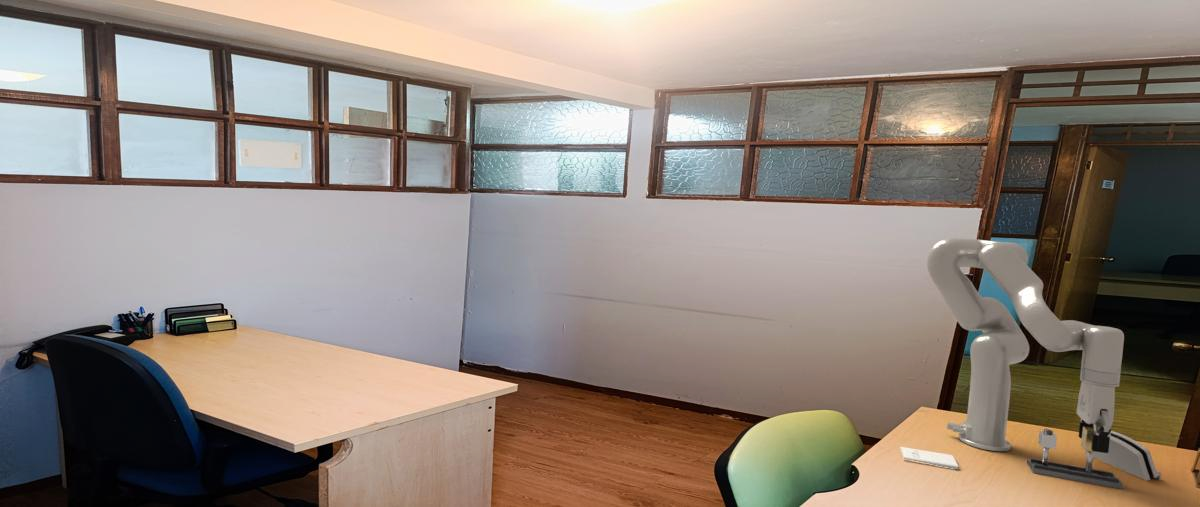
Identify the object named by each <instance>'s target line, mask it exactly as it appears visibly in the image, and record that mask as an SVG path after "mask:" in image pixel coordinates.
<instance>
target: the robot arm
mask: <svg viewBox="0 0 1200 507" xmlns="http://www.w3.org/2000/svg"><path fill="white" fill-rule="evenodd" d="M926 260H927V261H926V267H927V270H928V273H929V276H930V279H931V280H932V282H933V283H934V285H935V286H936V288H937V289H938V291H939V292H940V294H941V295H942V297H943V299H944V301H945V302H946V304H947V306H948V309H950V311H951V313H952V314H953V317H954V318H955V319H956V321H957V323H958V325H960V327H961V328H962V329H964V330H966V331H969V332H976V331H977V332H979V331H980V332H982V333H981V334H979V335H978V336H976V337H975V338H974V339H973V341H972V343H971V344H970V350H969V351H970V352H969V353H970V366H971V367H970V368H971V369H970V384H969V396H968V405H967V414H966V415H967V416H966V420H964V421H963V423H962V422H961V423H958V424H957V423H954V422H949V421H948V422H947V423H946V430H949V431H950V430H952V432H954V433H958V439H959V440H960V441H961V442H962V443H964V444H967V445H969V446H972V447H975V448H977V449H982V450H987V451H993V452H1008V451H1010V450H1012V444H1011V442H1010V441H1008V440H1007V439H1006V436H1007V426H1008V416H1009V407H1010V398H1011V387H1012V379H1011V371H1010V365H1015V364H1018V363H1021V362H1023V361H1024V360H1026V359H1027V358H1028V356H1029V353H1030V344H1029V342H1028V339H1027V338H1026V336H1025V334H1024V333H1023V331H1022V329H1021V328H1020V326H1019V324H1018V323H1017V322H1016V320H1015V319H1014V317H1013V315H1012V314H1011V312H1010V310H1008V308H1007V307H1006V305H1005V304H1003V303H1002V302H1001V301H1000V300H998V299H996V298H993V297H990V296H989V297H988V296H982V295H980V293H979V292H978V290H977V289H976V287H975V285H974V284H973V282H972V281H971V279H970V278H969V277H968V276H967V275H966V274H964V272H963V270H961V268H975V269H976V268H977V269H984V270H985V271H986V272H987V273H988V274H989V276H990V277H991V278H992V279H993V281H995V282H996V283H997V285H998V287H1000V288H1001V289H1002V290H1003V291H1004V293H1005V294H1006V295H1007V296H1008V297H1009V299H1010V300H1011V302H1012V305H1013V308H1014V311H1015V312H1016V314H1017V317H1018V320H1019V321H1020V323H1021V324H1022V325H1023V326H1024V328H1025V330H1027V331H1028V332H1029V333H1030V335H1031V336H1032V338H1034V339H1035V340H1036V341H1037V342H1038V343H1039V345H1041V346H1042V347H1043V348H1045V349H1046V350H1048V351H1051V352H1053V353H1054V352H1055V353H1061V352H1069V351H1082V357H1081V363H1080V364H1081V365H1080V366H1081V367H1080V375H1079V380H1080V381H1081V383H1080V387H1079V388H1080V389H1079V393H1078V398H1077V399H1078V400H1077V406H1076V415H1077V416H1078V417H1079V421H1080V422H1079V427H1078V437H1079V439H1082V432H1083V426H1084V427H1091V428H1094V432H1095V434H1093V436H1092V446H1091V449H1092V451H1095V452H1102V453H1108V452H1109V442H1110V432H1111V431H1112V429H1111V428H1112V426H1113V424H1114V414H1115V404H1116V403H1115V401H1116V400H1115V399H1116V392H1115V391H1116V388H1117V387H1120V381H1121V372H1122V371H1121V370H1122V360H1123V351H1124V342H1125V335H1124V332H1123V331H1122V330H1121V329H1119V328H1115V327H1111V326H1105V325H1104V326H1103V325H1094V324H1090V323H1086V322H1083V321H1078V320H1073V319H1071V320H1070V319H1069V320H1060V319H1059V318H1058V317H1057V316H1056V315H1055V314H1054V312H1052V311H1051V309H1050V307H1049V306H1048V305H1047V304H1046V302H1045V300H1044V298H1043V289H1044V283H1043V280H1042V279H1041V278H1040V277H1039V276H1038V275H1037V274H1036V273H1035V272H1034V271H1033V270H1032V269H1031V267H1030V266H1028V265H1027V264H1028V261H1029V256H1028V252H1027V250H1026V249H1025V248H1024V247H1023V246H1021V245H1020V244H1018V243H1016V242H1005V241H997V240H987V239H986V240H985V239H978V238H977V239H975V238H958V237H957V238H956V237H955V238H954V237H953V238H951V237H949V238H944V239H942V240H939V241H937V242H936V243H935V244H933V246H932V247H931V249H930V250H929V253H928V255H927V259H926Z"/></svg>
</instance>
